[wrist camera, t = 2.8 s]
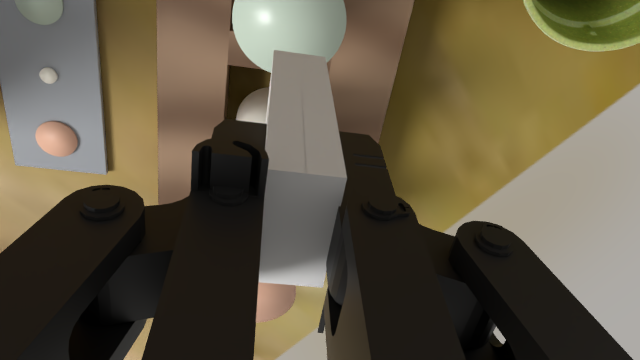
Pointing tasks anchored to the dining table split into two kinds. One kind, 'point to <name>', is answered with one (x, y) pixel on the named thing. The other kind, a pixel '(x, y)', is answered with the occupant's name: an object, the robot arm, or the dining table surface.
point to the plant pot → (588, 22)
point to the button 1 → (274, 300)
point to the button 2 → (288, 28)
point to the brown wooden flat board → (223, 50)
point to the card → (53, 84)
